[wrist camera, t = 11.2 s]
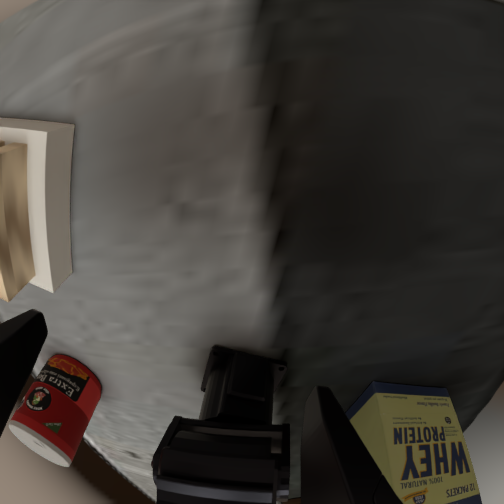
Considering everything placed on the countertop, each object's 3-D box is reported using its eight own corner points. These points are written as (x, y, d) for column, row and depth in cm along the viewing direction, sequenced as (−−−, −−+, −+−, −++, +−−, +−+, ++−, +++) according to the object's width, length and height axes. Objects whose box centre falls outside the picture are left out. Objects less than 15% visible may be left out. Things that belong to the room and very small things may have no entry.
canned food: (93, 361, 28) (50, 444, 18) (111, 403, 32) (80, 475, 22) (41, 344, 28) (-5, 414, 18) (62, 386, 32) (28, 450, 22)
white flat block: (72, 272, 22) (53, 293, 20) (-3, 242, 22) (-23, 257, 19) (74, 124, 17) (47, 132, 14) (-9, 117, 16) (-35, 124, 13)
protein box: (448, 385, 26) (486, 507, 12) (377, 451, 33) (388, 547, 20) (372, 378, 25) (398, 534, 12) (309, 448, 33) (308, 557, 19)
